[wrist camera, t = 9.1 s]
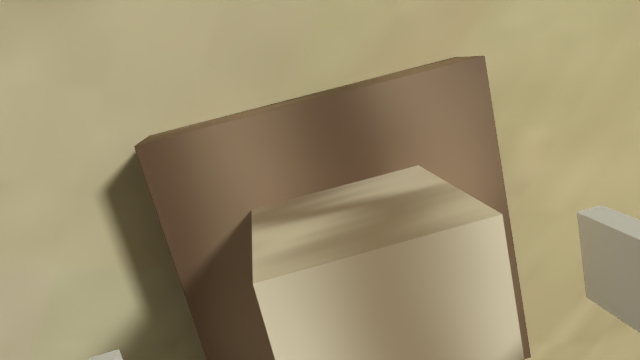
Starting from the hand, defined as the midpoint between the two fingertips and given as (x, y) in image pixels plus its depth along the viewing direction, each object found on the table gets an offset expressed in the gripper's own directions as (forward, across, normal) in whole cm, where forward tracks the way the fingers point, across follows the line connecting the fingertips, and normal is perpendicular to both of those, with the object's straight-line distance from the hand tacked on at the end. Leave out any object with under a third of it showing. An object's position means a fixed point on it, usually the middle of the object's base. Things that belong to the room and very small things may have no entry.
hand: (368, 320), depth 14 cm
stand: (+7, +1, 0) cm, 7 cm away
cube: (+4, 0, 0) cm, 4 cm away
